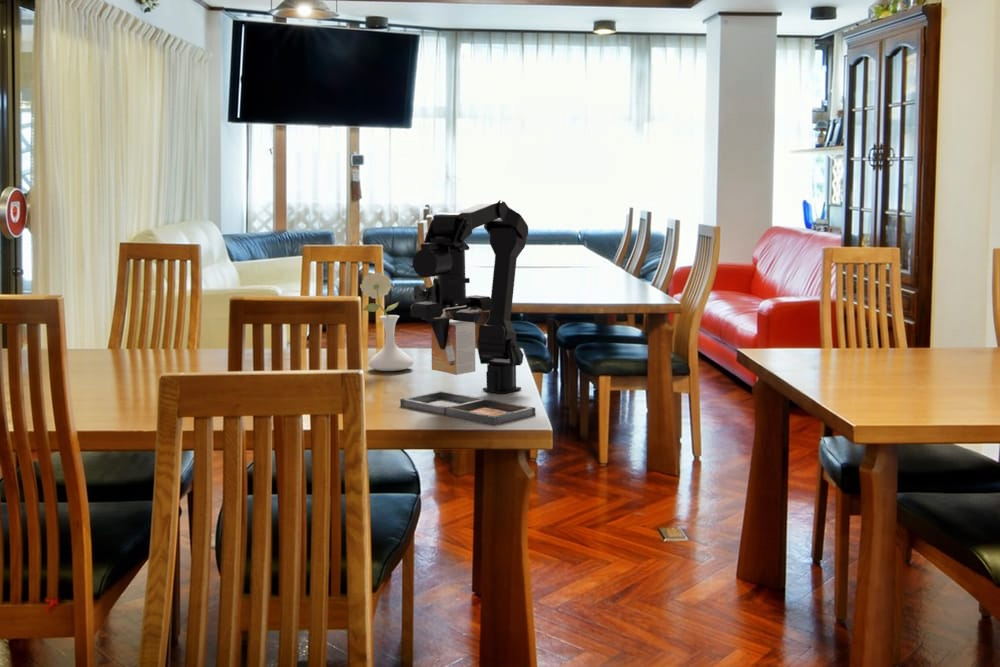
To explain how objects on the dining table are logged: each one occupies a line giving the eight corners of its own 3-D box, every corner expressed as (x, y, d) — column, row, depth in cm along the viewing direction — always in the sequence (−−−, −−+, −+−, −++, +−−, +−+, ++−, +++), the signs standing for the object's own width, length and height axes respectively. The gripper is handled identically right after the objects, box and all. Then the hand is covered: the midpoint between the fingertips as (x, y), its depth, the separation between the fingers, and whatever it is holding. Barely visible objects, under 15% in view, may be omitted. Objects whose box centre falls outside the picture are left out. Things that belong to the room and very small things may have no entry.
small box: (431, 370, 229) (430, 321, 227) (451, 367, 233) (450, 318, 231) (456, 375, 223) (455, 324, 221) (476, 371, 227) (475, 321, 225)
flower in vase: (417, 366, 281) (414, 269, 277) (409, 374, 269) (406, 273, 266) (367, 366, 282) (364, 270, 278) (357, 374, 271) (354, 274, 267)
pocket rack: (441, 397, 240) (441, 390, 240) (535, 414, 221) (535, 407, 221) (400, 406, 232) (400, 399, 232) (494, 425, 213) (494, 417, 212)
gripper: (457, 268, 237) (459, 338, 239) (391, 274, 224) (394, 349, 226) (493, 270, 229) (495, 343, 231) (427, 277, 216) (429, 354, 218)
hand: (453, 347), depth 227 cm, fingers closed on small box, 6 cm apart
